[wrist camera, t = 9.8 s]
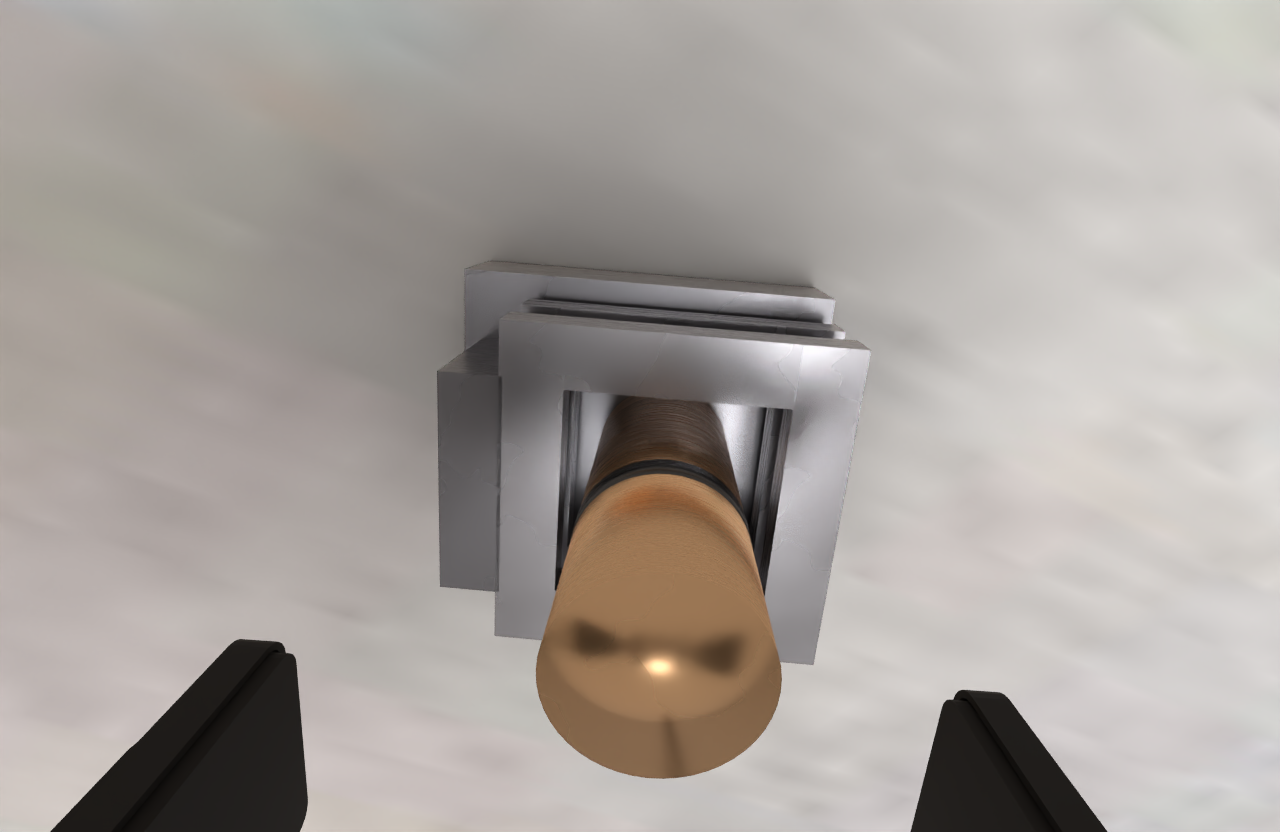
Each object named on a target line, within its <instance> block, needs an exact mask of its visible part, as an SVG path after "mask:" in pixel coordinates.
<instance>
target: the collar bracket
mask: <svg viewBox="0 0 1280 832" xmlns="http://www.w3.org/2000/svg"><path fill="white" fill-rule="evenodd" d="M835 301H836V300H835V299H833V298H832V297H830V296H828V295H826V294H825V293H823V292H821V291H820V290H818V289H816V288H812V287H800V286H788V285H776V284H764V283H752V282H740V281H728V280H716V279H704V278H692V277H680V276H668V275H656V274H644V273H632V272H620V271H608V270H596V269H584V268H572V267H560V266H548V265H536V264H524V263H512V262H500V261H487V262H484V263H481V264H478V265H475V266H472V267H469V268H466V269H465V351H464V352H463V353H462V354H460V355H459V356H457V357H456V358H455V359H453V360H452V361H450V362H449V363H448V364H446V365H445V366H444V367H442V368H441V369H439V370H438V371H437V393H438V468H439V543H440V587H450V588H461V589H472V590H483V591H494V592H495V636H502V637H513V638H524V639H535V640H542V639H543V635H544V632H545V628H546V625H547V621H548V618H549V614H550V611H551V608H552V604H553V601H554V597H555V594H556V590H557V587H558V583H559V580H560V576H561V573H562V569H563V566H564V563H565V559H566V556H567V552H568V549H569V545H570V539H571V535H572V532H573V528H574V525H575V521H576V518H577V514H578V512H579V509H580V507H581V504H582V500H583V497H584V493H585V490H586V486H587V483H588V479H589V476H590V472H591V469H592V466H593V462H594V459H595V455H596V452H597V448H598V445H599V441H600V438H601V434H602V431H603V427H604V425H605V423H606V421H607V419H608V417H609V416H610V414H611V413H612V411H613V410H614V409H615V408H616V407H617V406H618V405H619V404H620V403H621V402H622V401H623V400H625V399H626V398H628V397H629V396H640V397H651V398H663V399H675V400H686V401H698V402H705V403H706V404H707V405H708V406H709V407H710V408H711V409H712V410H713V411H714V412H715V414H716V415H717V417H718V418H719V420H720V422H721V424H722V427H723V430H724V433H725V437H726V441H727V446H728V450H729V454H730V458H731V462H732V466H733V470H734V474H735V478H736V483H737V487H738V491H739V495H740V499H741V503H742V507H743V511H744V514H745V517H746V520H747V524H748V528H749V532H750V536H751V541H752V545H753V552H754V556H755V561H756V565H757V569H758V573H759V577H760V581H761V585H762V589H763V593H764V598H765V602H766V606H767V610H768V614H769V618H770V622H771V626H772V630H773V635H774V639H775V643H776V647H777V651H778V655H779V660H780V662H786V663H797V664H808V665H813V664H814V659H815V653H816V648H817V642H818V637H819V631H820V626H821V621H822V615H823V610H824V604H825V599H826V594H827V588H828V583H829V577H830V572H831V567H832V561H833V556H834V550H835V545H836V539H837V534H838V529H839V523H840V518H841V512H842V507H843V502H844V496H845V491H846V485H847V480H848V474H849V469H850V464H851V458H852V453H853V447H854V442H855V437H856V431H857V426H858V420H859V415H860V410H861V404H862V399H863V393H864V388H865V382H866V377H867V372H868V366H869V361H870V355H871V350H870V349H868V348H867V347H866V346H864V345H863V344H862V343H860V342H859V341H855V340H845V334H846V332H845V331H844V330H842V329H841V328H840V327H838V326H837V325H835V324H832V320H833V314H834V307H835Z"/></svg>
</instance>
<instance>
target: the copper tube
mask: <svg viewBox="0 0 1280 832" xmlns="http://www.w3.org/2000/svg"><path fill="white" fill-rule="evenodd" d="M781 682H782V676H781V664H780V660H779V655H778V651H777V647H776V643H775V639H774V635H773V630H772V626H771V622H770V618H769V614H768V610H767V606H766V602H765V598H764V593H763V589H762V585H761V581H760V577H759V573H758V569H757V565H756V561H755V556H754V552H753V545H752V541H751V536H750V532H749V528H748V524H747V520H746V517H745V514H744V511H743V507H742V503H741V499H740V495H739V491H738V487H737V483H736V478H735V474H734V470H733V466H732V462H731V458H730V454H729V450H728V446H727V441H726V437H725V433H724V430H723V427H722V424H721V422H720V420H719V418H718V417H717V415H716V414H715V412H714V411H713V410H712V409H711V408H710V407H709V406H708V405H707V404H706V403H705V402H698V401H686V400H675V399H663V398H651V397H640V396H629V397H628V398H626V399H625V400H623V401H622V402H621V403H620V404H619V405H618V406H617V407H616V408H615V409H614V410H613V411H612V413H611V414H610V416H609V417H608V419H607V421H606V423H605V425H604V427H603V431H602V434H601V438H600V441H599V445H598V448H597V452H596V455H595V459H594V462H593V466H592V469H591V472H590V476H589V479H588V483H587V486H586V490H585V493H584V497H583V500H582V504H581V507H580V509H579V512H578V514H577V518H576V521H575V525H574V528H573V532H572V535H571V539H570V545H569V549H568V552H567V556H566V559H565V563H564V566H563V569H562V573H561V576H560V580H559V583H558V587H557V590H556V594H555V597H554V601H553V604H552V608H551V611H550V614H549V618H548V621H547V625H546V628H545V632H544V635H543V639H542V642H541V646H540V649H539V653H538V656H537V665H536V683H537V689H538V694H539V698H540V701H541V703H542V706H543V709H544V711H545V713H546V715H547V717H548V719H549V720H550V722H551V723H552V725H553V726H554V728H555V729H556V730H557V732H558V733H559V734H560V735H561V736H562V737H563V738H564V739H565V741H566V742H567V743H568V744H570V745H571V746H572V747H573V748H574V749H576V750H577V751H578V752H579V753H581V754H582V755H584V756H585V757H587V758H589V759H590V760H592V761H594V762H596V763H598V764H600V765H602V766H604V767H606V768H609V769H612V770H614V771H617V772H620V773H624V774H628V775H632V776H638V777H645V778H662V779H664V778H679V777H685V776H691V775H695V774H699V773H702V772H706V771H709V770H711V769H714V768H716V767H719V766H721V765H723V764H725V763H727V762H729V761H730V760H732V759H734V758H735V757H737V756H738V755H740V754H741V753H742V752H744V751H745V750H746V749H747V748H749V747H750V746H751V745H752V744H753V743H754V742H755V741H756V740H757V739H758V738H759V736H760V735H761V734H762V733H763V731H764V730H765V729H766V727H767V725H768V724H769V722H770V720H771V719H772V717H773V714H774V712H775V710H776V707H777V704H778V701H779V697H780V693H781Z"/></svg>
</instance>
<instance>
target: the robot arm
mask: <svg viewBox="0 0 1280 832" xmlns="http://www.w3.org/2000/svg"><path fill="white" fill-rule="evenodd" d="M307 806H308V796H307V784H306V772H305V761H304V749H303V737H302V725H301V713H300V701H299V689H298V677H297V665H296V659H295V657H294V655H293V654H290V653H286V652H285V648H284V646H283V644H282V643H280V642H273V641H259V640H245V639H239V640H236V641H234V642H233V643H232V644H230V645H229V646H228V647H227V648H226V650H225V651H224V652H223V653H222V654H221V655H220V656H219V657H218V658H217V659H216V660H215V661H214V662H213V663H212V664H211V665H210V666H209V667H208V668H207V670H206V671H205V672H204V673H203V674H202V675H201V676H200V677H199V678H198V679H197V680H196V681H195V682H194V683H193V684H192V685H191V686H190V687H189V689H188V690H187V691H186V692H185V693H184V694H183V695H182V696H181V697H180V698H179V699H178V700H177V701H176V702H175V703H174V704H173V705H172V706H171V707H170V709H169V710H168V711H167V712H166V713H165V714H164V715H163V716H162V717H161V718H160V719H159V720H158V721H157V722H156V723H155V724H154V725H153V726H152V727H151V729H150V730H149V731H148V732H147V733H146V734H145V735H144V736H143V737H142V738H141V739H140V740H139V741H138V742H137V743H136V744H135V745H133V746H132V747H131V748H130V749H129V750H128V751H127V752H126V753H125V754H124V755H123V756H122V757H121V758H120V759H119V760H118V761H117V762H116V763H115V764H114V765H113V766H112V767H111V769H110V770H109V771H108V772H107V773H106V774H105V775H104V776H103V777H102V778H101V779H100V780H99V781H98V782H97V783H96V784H95V785H94V786H93V787H92V788H91V790H90V791H89V792H88V793H87V794H86V795H85V796H84V797H83V798H82V799H81V800H80V801H79V802H78V803H77V804H76V805H75V806H74V807H73V808H72V809H71V811H70V812H69V813H68V814H67V815H66V816H65V817H64V818H63V819H62V820H61V821H60V822H59V823H58V824H57V825H56V826H55V827H54V828H53V829H52V830H51V832H300V830H301V828H302V825H303V823H304V820H305V816H306V812H307ZM911 832H1107V830H1106V829H1105V828H1104V826H1103V825H1102V824H1101V822H1100V821H1099V820H1098V818H1097V817H1096V816H1095V814H1094V813H1093V812H1092V810H1091V809H1090V808H1089V806H1088V805H1087V804H1086V802H1085V801H1084V799H1083V798H1082V797H1081V795H1080V794H1079V793H1078V791H1077V790H1076V789H1075V787H1074V786H1073V785H1072V783H1071V782H1070V781H1069V779H1068V778H1067V777H1066V775H1065V774H1064V773H1063V771H1062V770H1061V768H1060V767H1059V766H1058V764H1057V763H1056V762H1055V760H1054V759H1053V758H1052V756H1051V755H1050V754H1049V752H1048V751H1047V750H1046V748H1045V747H1044V746H1043V744H1042V743H1041V742H1040V740H1039V739H1038V738H1037V736H1036V735H1035V733H1034V732H1033V731H1032V729H1031V728H1030V727H1029V725H1028V724H1027V723H1026V721H1025V720H1024V719H1023V717H1022V716H1021V715H1020V713H1019V712H1018V711H1017V709H1016V708H1015V707H1014V705H1013V704H1012V703H1011V701H1010V700H1009V699H1008V698H1007V697H1006V696H1005V695H1004V694H1002V693H999V692H986V691H971V690H961V691H958V692H957V693H956V695H955V697H954V699H953V700H946V701H945V702H944V704H943V707H942V710H941V714H940V718H939V722H938V726H937V730H936V734H935V738H934V742H933V746H932V750H931V753H930V757H929V761H928V765H927V769H926V773H925V777H924V781H923V785H922V789H921V793H920V797H919V801H918V805H917V809H916V813H915V817H914V821H913V825H912V829H911Z"/></svg>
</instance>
